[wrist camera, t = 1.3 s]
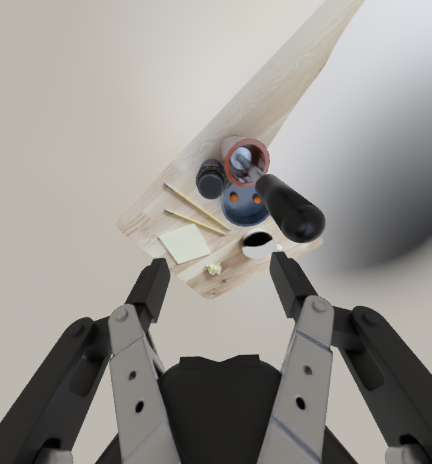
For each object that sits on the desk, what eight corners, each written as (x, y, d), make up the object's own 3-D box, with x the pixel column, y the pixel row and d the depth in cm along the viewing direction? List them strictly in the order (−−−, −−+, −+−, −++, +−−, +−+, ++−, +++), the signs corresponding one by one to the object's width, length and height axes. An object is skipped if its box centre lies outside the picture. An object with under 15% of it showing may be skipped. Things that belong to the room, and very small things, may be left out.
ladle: (225, 156, 22) (254, 230, 6) (242, 140, 21) (342, 173, 4) (237, 172, 24) (291, 274, 7) (254, 159, 22) (367, 238, 6)
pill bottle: (218, 154, 35) (219, 162, 25) (229, 179, 38) (233, 194, 28) (194, 167, 36) (187, 179, 27) (206, 190, 39) (204, 208, 30)
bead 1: (228, 196, 39) (228, 198, 38) (234, 191, 39) (235, 193, 37) (232, 201, 40) (233, 204, 39) (239, 197, 40) (240, 199, 38)
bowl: (211, 194, 40) (211, 201, 36) (252, 160, 35) (256, 164, 31) (239, 225, 45) (241, 235, 41) (277, 199, 40) (284, 207, 36)
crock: (215, 147, 34) (215, 162, 17) (234, 129, 32) (253, 127, 15) (229, 165, 36) (241, 195, 19) (247, 150, 34) (277, 167, 18)
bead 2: (251, 197, 40) (252, 200, 38) (258, 193, 39) (259, 195, 37) (255, 203, 41) (257, 206, 39) (262, 198, 40) (264, 201, 38)
